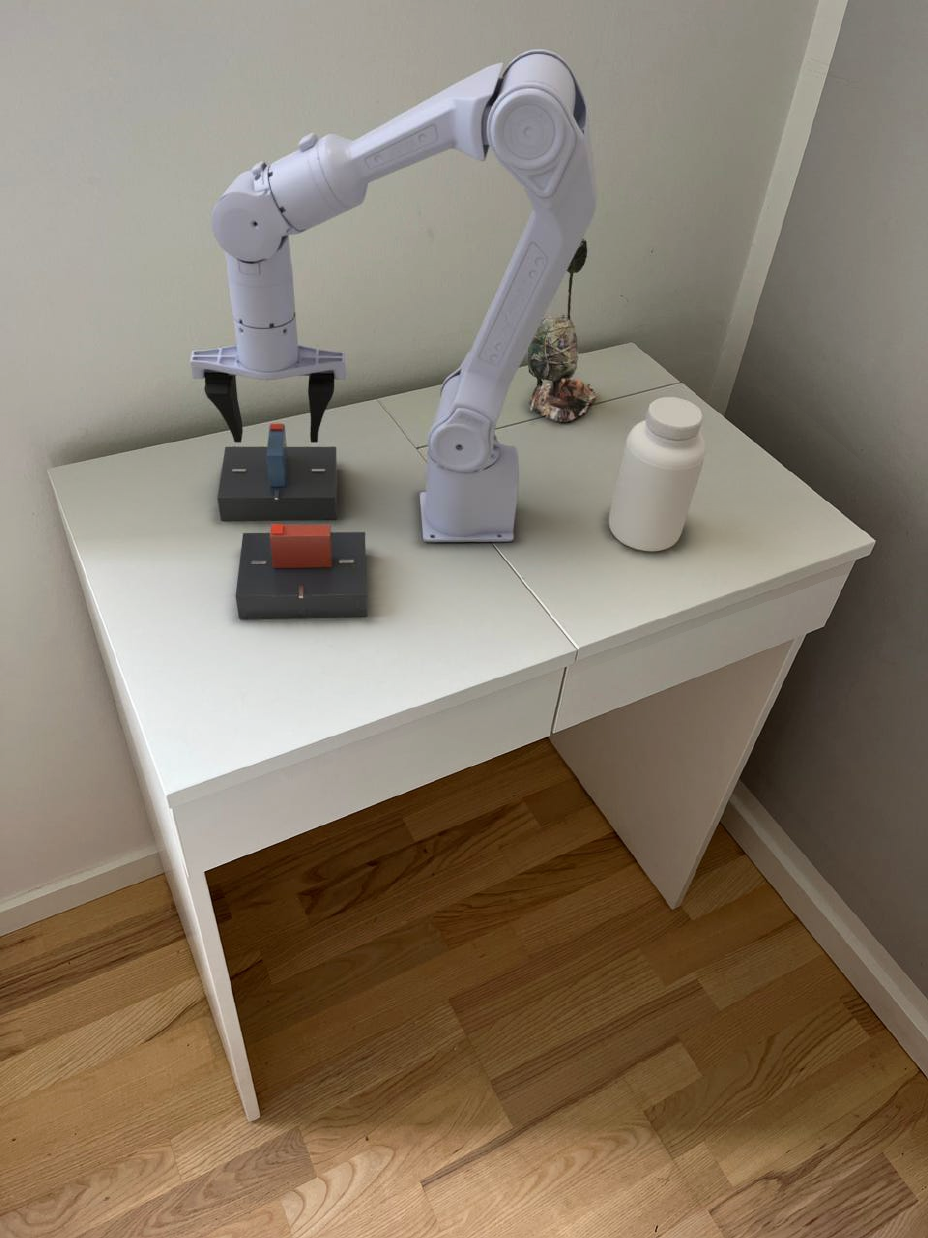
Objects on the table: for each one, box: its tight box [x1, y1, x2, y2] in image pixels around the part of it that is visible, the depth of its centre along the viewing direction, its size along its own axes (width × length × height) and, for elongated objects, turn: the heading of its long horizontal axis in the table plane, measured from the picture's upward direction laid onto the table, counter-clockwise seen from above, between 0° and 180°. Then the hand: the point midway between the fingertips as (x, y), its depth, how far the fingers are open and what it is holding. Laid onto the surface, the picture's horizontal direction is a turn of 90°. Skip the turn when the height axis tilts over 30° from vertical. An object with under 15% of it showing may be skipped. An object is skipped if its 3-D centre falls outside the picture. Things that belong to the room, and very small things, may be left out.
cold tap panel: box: [217, 446, 338, 521], centre depth 102 cm, size 12×10×3 cm
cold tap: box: [266, 423, 288, 487], centre depth 99 cm, size 6×2×4 cm, turn 5°
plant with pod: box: [527, 238, 597, 423], centre depth 111 cm, size 8×11×20 cm
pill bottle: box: [608, 396, 707, 552], centre depth 97 cm, size 8×8×15 cm
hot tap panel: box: [235, 531, 368, 620], centre depth 92 cm, size 12×10×3 cm
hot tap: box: [269, 523, 332, 568], centre depth 89 cm, size 6×2×4 cm, turn 95°
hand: (276, 436), depth 97 cm, fingers open, 7 cm apart
